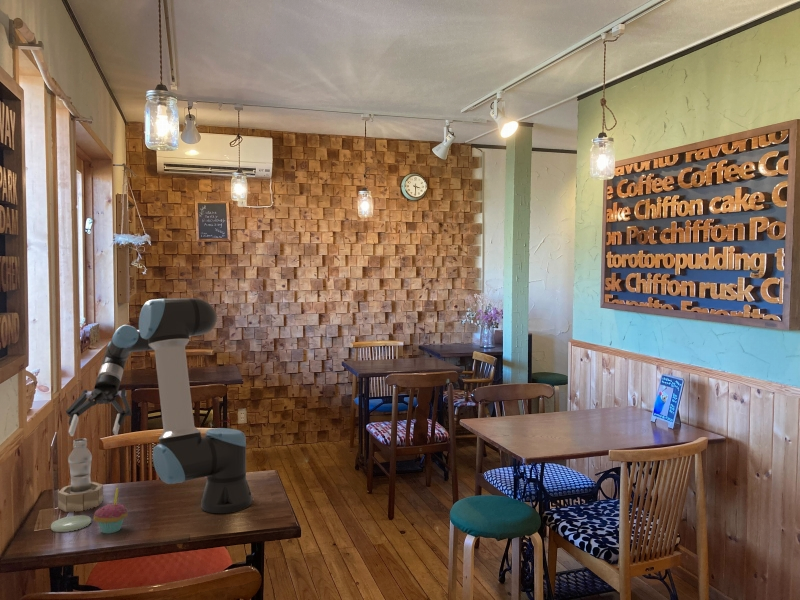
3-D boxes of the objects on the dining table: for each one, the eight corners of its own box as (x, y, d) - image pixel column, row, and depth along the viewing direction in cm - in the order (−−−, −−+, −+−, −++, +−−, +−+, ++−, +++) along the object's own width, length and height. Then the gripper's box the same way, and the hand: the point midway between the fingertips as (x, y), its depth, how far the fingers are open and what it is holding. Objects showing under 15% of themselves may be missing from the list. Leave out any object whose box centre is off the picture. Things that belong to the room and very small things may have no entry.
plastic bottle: (98, 501, 192) (97, 438, 191) (81, 509, 185) (80, 443, 184) (81, 499, 193) (80, 436, 193) (63, 507, 187) (62, 442, 186)
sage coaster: (98, 523, 175) (98, 520, 175) (62, 535, 167) (62, 532, 167) (79, 515, 181) (79, 512, 181) (43, 526, 172) (43, 524, 172)
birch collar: (109, 502, 191) (109, 486, 191) (72, 514, 181) (72, 497, 181) (88, 495, 197) (88, 480, 197) (52, 506, 188) (52, 490, 187)
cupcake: (119, 521, 176) (118, 480, 176) (133, 529, 171) (133, 486, 170) (88, 531, 169) (87, 488, 169) (102, 539, 164) (102, 495, 164)
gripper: (148, 385, 217) (135, 438, 203) (74, 386, 215) (56, 440, 200) (144, 372, 212) (130, 426, 197) (67, 373, 209) (48, 428, 195)
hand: (92, 433), depth 199 cm, fingers open, 13 cm apart
